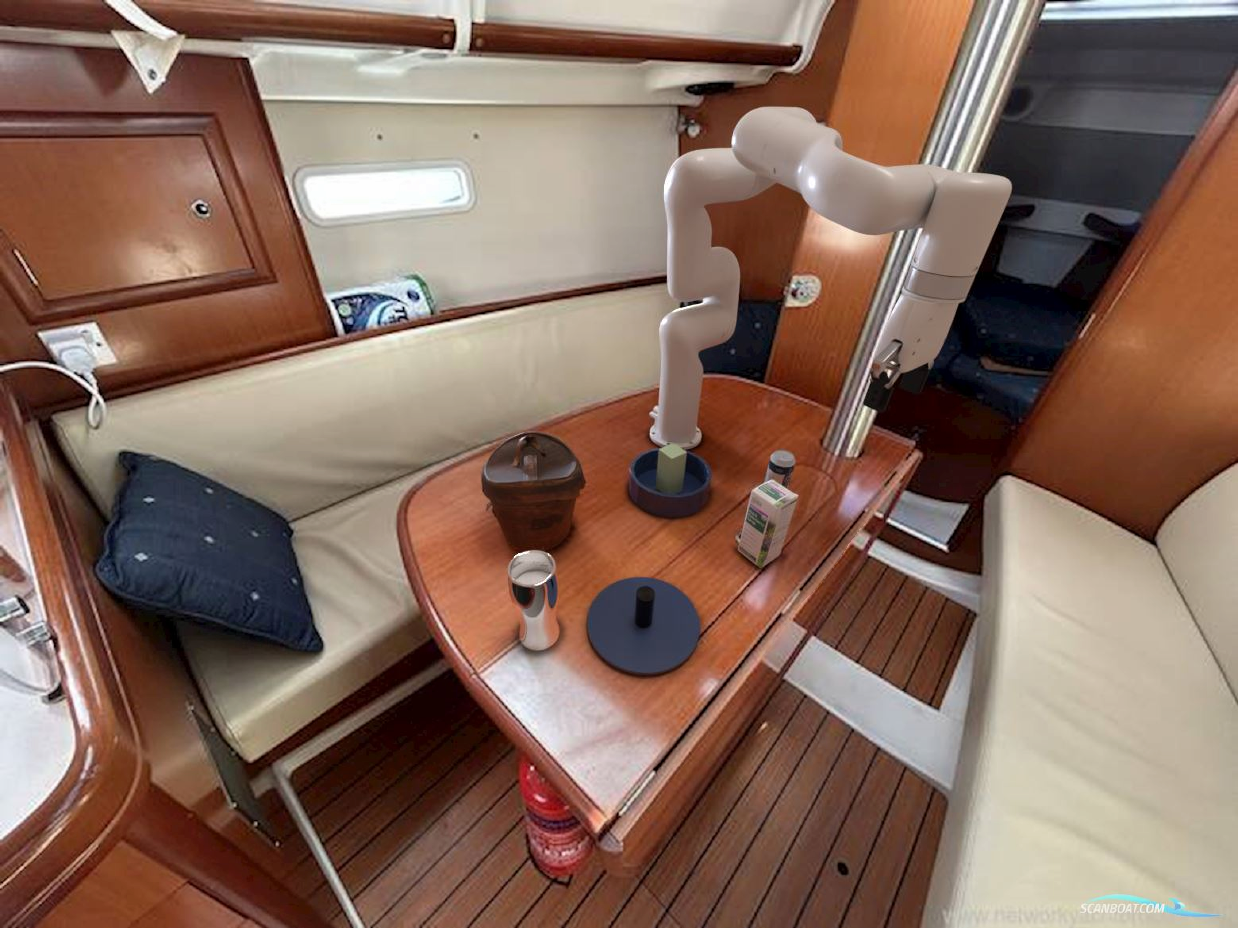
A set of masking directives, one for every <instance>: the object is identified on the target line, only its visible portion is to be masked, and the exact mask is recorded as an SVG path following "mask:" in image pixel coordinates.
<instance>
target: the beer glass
mask: <svg viewBox="0 0 1238 928" xmlns="http://www.w3.org/2000/svg"><path fill="white" fill-rule="evenodd" d="M506 570H507V571H506V572H507V584H508V595H509V599H510V602H511V605H512V608H513V609H514V612H515V614H516V616H517V619H518V620H519V625H520V626H519V632H518V633H519V635H518V636H519V641H520V642H521V644H522V645H523V646H524V647H525V648H527V649H528V650H531V651H537V652H539V651H540V652H541V651H545V650H546V649H550V648H551V647H552V646H554V644H555V643H556V642H557V641H558V640H559V637H560V626H559V623H558V621H557V617H556V615H557V609H558V603H559V596H560V582H559V575H558V571H557V563H556V561H555V559H554V557H553V555H551V554H550V553H548V552H546V551H540V550H529V551H521V552H520V553H518V554H516V555H515V556H514V557H512V559H511V560H510V561H509V562H508V565H507V569H506Z"/></svg>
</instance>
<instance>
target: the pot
mask: <svg viewBox="0 0 1238 928" xmlns="http://www.w3.org/2000/svg"><path fill="white" fill-rule="evenodd" d="M660 448H661V447H656V448H651V449H648V450H646V451H644V452H640V453H639V454H638V455H637V456H636V457H635V458H634V459H633V460H632V461H631V464H630V466H629V476H628V490H629V491H628V492H629V497H630V498H631V500H632V501H633V502H634V504H635V505H636V506H637V507H639V508H640V509H641V510H643V511H644V512H646V513H648V514H651V515H654V516H657V517H660V518H661V517H662V518H671V519H672V518H673V519H675V518H676V519H677V518H685V517H688V516H691V515H693V514H696V513H697V512H699V511H701V510H702V509H704V507H705V506H706V504H707V502H708V501H709V496H710V495H709V494H710V488H711V483H712V478H713V477H712V476H713V472H712V469H711V467H710V465H709V463H707V461H705V459H703V458H702V457H701V456H700V455H697V454H695V453H694V452H692V451H689V450H685V451H686V452H687V456H686V464H685V472H684V480H683V488H682V491H681V492H679V493H677V494H663V493H661V492H660V491H659V490H658V489H656V477H657V465H658V453H659V449H660Z"/></svg>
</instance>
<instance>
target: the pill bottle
mask: <svg viewBox="0 0 1238 928" xmlns="http://www.w3.org/2000/svg"><path fill="white" fill-rule="evenodd" d="M796 462H797V460H796V458H795V455H794V453H792V452H791V451H788V450H786V449H776V450H775V451H773V453H771V455H770V457H769V459H768V465H767V470H766V473H765V476H764V481H763V483H765V482H767V481H769V480H772V479H773V480H775V481H776V482H777V483H779V484H781V485H782V486H784V487H785V488H787V489H788V490H789V487H790V483H791V481H792V476H793V473H794V470H795V466H796Z"/></svg>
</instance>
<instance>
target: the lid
mask: <svg viewBox="0 0 1238 928" xmlns="http://www.w3.org/2000/svg"><path fill="white" fill-rule="evenodd" d="M586 629H587V635H588V638H589V641H590V643H591V645H592V647H593V649H594V650H595V651H596V653H597V654H598V655H599V656H600V657H601V659H603V660H604V661H605V662H606V663H608V664H609V665H611V666H613V667H614V668H616V669H618V670H621V671H622V672H625V673H628V674H634V675H641V676H653V675H660V674H663V673H667V672H669V671H672V670H674V669H676V668H677V667H679V666H681V665H682V664H683V663H685V662H686V661H687V660H688V659H689V658H690V657H691V655H693V653H694V651H695V649H696V647H697V645H698V642H699V639H700V633H701V621H700V617H699V613H698V610H697V609H696V607H695V605H694V603H693V602H692V600H691V599H690V598H689V597H688V596H687V594H685V593H684V592H683V591H682V590H681V589H680V588H678V587H676V586H675V585H673V584H672V583H669V582H667V581H664V580H661V579H658V578H654V577H648V576H647V577H646V576H634V577H633V576H632V577H627V578H623V579H620V580H617V581H614V582H613V583H610V584H609V585H607V586H605V588H603V589H602V590H601V591H600V592H599V593H597V595H596V596H595V597H594V599H593V600H592V602H591V604H590V606H589V609H588V612H587V617H586Z"/></svg>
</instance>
